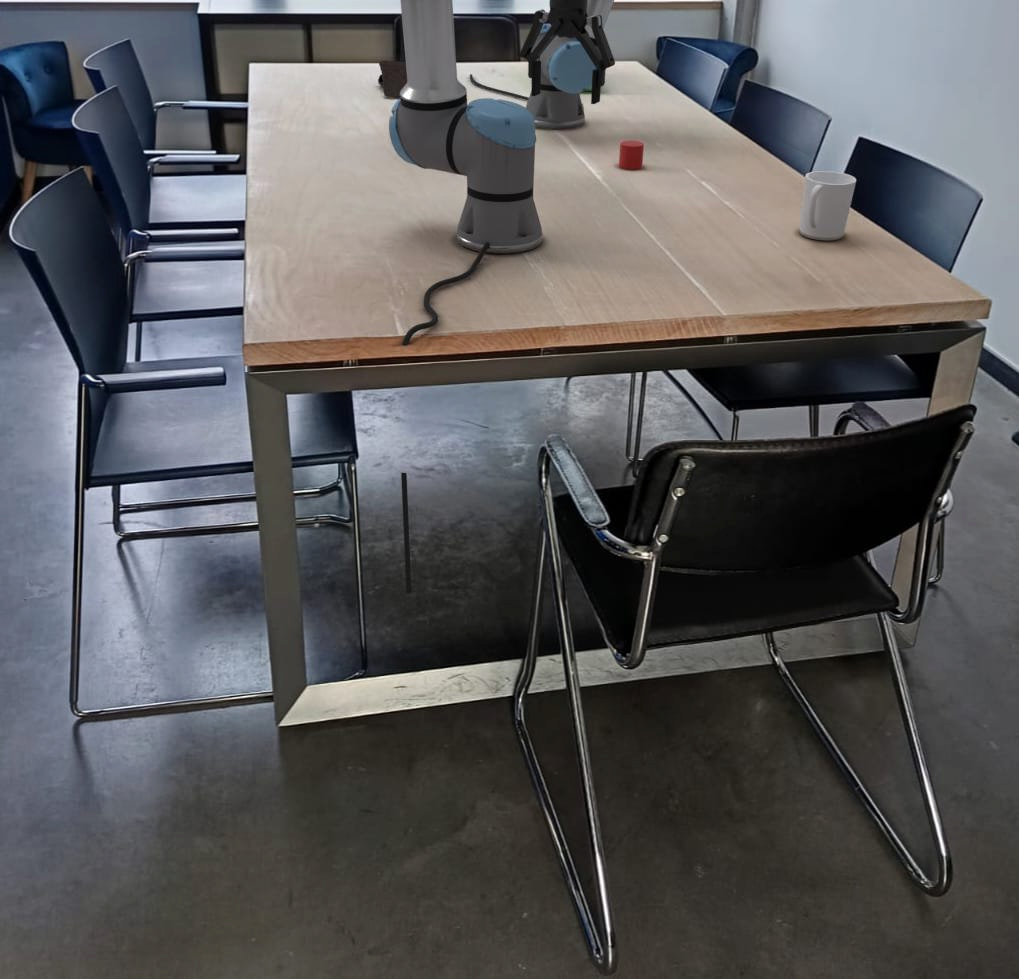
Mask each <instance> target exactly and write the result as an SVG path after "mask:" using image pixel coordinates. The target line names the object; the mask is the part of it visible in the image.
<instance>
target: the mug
mask: <svg viewBox="0 0 1019 979" xmlns="http://www.w3.org/2000/svg"><path fill="white" fill-rule="evenodd" d="M856 183H857V178H856V177H855V176H853V175H851V174H848V173H844V172H840V171H832V170H816V171H809V172H807V173H806V174H805V177H804V184H803V194H802V203H801V212H800V219H799V228H798V232H799V234H800V235H802V236H803V237H805V238H809V239H812V240H817V241H836V240H840V239H842V238H843V237H844V236H845V230H846V227H847V221H848V217H849V215H850V214H849V213H850V209H851V205H852V201H853V196H854V193H855V189H856Z"/></svg>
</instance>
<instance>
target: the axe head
mask: <svg viewBox="0 0 1019 979" xmlns="http://www.w3.org/2000/svg"><path fill="white" fill-rule="evenodd" d="M378 66H379V68H380V72H381V74H379V75H378V79H377V84H378V85H379V86H380V87H381V88H382V89H383V95H384V96H385V97H388V98H394V99H395V98H396V99H400V91H401V90H402V89H403V87H404V86H405V85H406V84H407V82H408V81H407V70H406V61H397V60H388V59H387V60H380V61H379V62H378Z"/></svg>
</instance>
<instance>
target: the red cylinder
mask: <svg viewBox="0 0 1019 979" xmlns="http://www.w3.org/2000/svg"><path fill="white" fill-rule="evenodd" d="M619 145H620V146H619V157H618V167H619V168H620V169H622V170H628V171H636V170H637V171H638V170H641V169H643V162H644V150H645V149H644V148H645V143H644V142H642V141H638V140H623V141H621V142H620V144H619Z"/></svg>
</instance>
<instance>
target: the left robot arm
mask: <svg viewBox="0 0 1019 979" xmlns="http://www.w3.org/2000/svg"><path fill="white" fill-rule="evenodd" d="M548 5H549V11H546V10H545V9H543V8H541V9H539V10H536V11H535V12H534V18H533V23H532V25H531V28H530V30H529V31H528V34H527V36H526V38H525V41H524V43H523V45H522V47H521V50H520V52H519V57H520V59H525V60H526V61H527V77H528V78H529V79H531V90H530V93H531V96H536V95H539V94H540V92H541V61H537V59H539V56H540V55H541V54H542V53H543V51H544V50H545V49H546V48H547V46H548V45H549V44H550V43H551V41H552V40H553V39H554V38H555V37H556V36H558V37H567V38H575V37H576V39H577V41H579V42H580V43H581V45H582V46H583V48H584V50H585V51H586V53H587V54H588V56H589V57H590V59H591V61H592V62H593V64H594V65H595V67H596V69H594V70H593V71H592V91H591V96H590V104H591V105H596V104H597V103H600V102H601V88H602V87H604V86H605V84H606V70H607V69H609V68H611V67H613V66H615V65H616V61H615V57H614V55H613V52H612V50H611V47H610V44H609V41H608V38H607V35H606V33H605V30H604V28H603V27H602V16H601V15H597V16H588V15H587V5H588V0H549V4H548ZM400 10H401V11H400V12H401V24H402V33H403V34H402V35H403V44H404V46H403V47H404V57H405V62H406V70H407V81H408V82H407V84H406V85H405V86H404V87H403V89H402V90H401V91H400V98H398V99H397V101H396V102H395V103H394V104H393V106H392V109H391V113H392V115H391V116H389V119H388V134H389V138H390V143H391V145H392V147H393V150H394V151H395V153H396V154H397V156H398V157H399V158H401V159H402V160H403V161H404V162H406V163H408V164H410V165H414V166H417V167H418V168H421V169H424V170H434V171H439V172H445V173H449V174H453V175H458V176H464V177H466V192H467V193H466V198H465V202H464V205H463V209H462V211H461V214H460V218H459V220H458V224H457V228H456V241H457V243H458V244H459V245H461V246H462V247H464V248H466V249H468V250H470V251H475V252H478V254H477V256H476V258H474V260H473V262H472V264H471V266H470V268H469V269H468V270H466V271H464V273H462V274H459V275H456V276H452V277H449V278H446V279H442V280H439V281H438V282H435V283H433V284H432V285H431V286H429V288H428V289H427V290H426V291H425V293H424V296H423V306H424V309H425V310H426V311H427V312H428V314H430V316H431V320H430V321H428V322H427V321H426V322H422V323H417V324H416V325H414V326H412V327H410V329H409V330H408V331H407V332H406V334H405V335H404V337H403V339H402V342H401V346H403V347H404V346H408V345H409V343H410V340H411V339H412V337H413V335H414V334H416V333H417V332H419V331H422V330H426V329H430V328H432V327H434V326H436V324H437V323H438V321H439V317H438V316H439V315H438V313H437V312H436V310H434V308H433V307H432V306H431V305H430V304H431V303H430V298H431V296H432V294H433V293H434V292H435V291H436V290H438V289H439V288H442V287H444V286H448V285H451V284H454V283H458V282H461V281H463V280H465V279H467V278H469V277H470V276H471V275H473V274H474V272H476V269H477V267H478V266H479V265H480V263H481V261H482V260H483V257H484V256H485V254H497V255H499V254H500V255H506V254H507V255H508V254H517V253H524V252H527V251H530V250H533V249H536V248H538V247H539V246H540V245H541V244H542V243H543V229H542V224H541V221H540V220H541V219H540V218H539V214H538V213H539V212H538V210H537V206H536V204H535V199H534V184H535V181H534V180H535V158H536V143H537V135H536V127H535V120H534V117H533V115H532V113H531V112H530V111H529V110H528V109H527V108H526V106H524V105H521V104H519V103H518V102H517V103H516V102H513V101H510V100H505V99H494V98H490V97H489V98H487V97H486V98H485V97H484V98H476V99H474V100H471V101H469V103H468V93H467V91H468V90H467V88H466V86H465V85H463V83H462V82H460V81H459V79H458V71H457V68H458V67H457V55H456V54H457V53H456V37H455V35H456V34H455V21H454V20H455V18H454V5H453V0H400ZM547 21H548V24H551V28H550V29H549V30H548V31H547V33H546V35H545V36H544V37H543V39H542V40H541V41H540V42H539V44H538V45H537V46H536V47H535V49H534V50H533V51H532V49H533V46H534V44H535V42H536V40H537V38H538V36H539V33H540V31H541V29H542V27H543V24H545V23H546V22H547ZM587 23H589V25H590V27H591V28H592V31H593V35H594V37H595V40H596V43H597V45H598V48H599V51H600V53H599V51H598V50H597V48H596V46H595V45H594V43H593V42H592V40H591V38H590V37H589V33H588V32H587V30H586V28H585V26H586V25H587ZM400 474H401V475H400V478H401V480H400V481H401V502H402V504H401V505H402V523H403V524H402V525H403V545H404V546H403V547H404V571H405V572H404V574H405V593H406V594H407V595H410V594H412V574H411V571H412V570H411V546H410V522H409V521H410V520H409V499H408V496H409V495H408V473H407V472H400Z"/></svg>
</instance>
